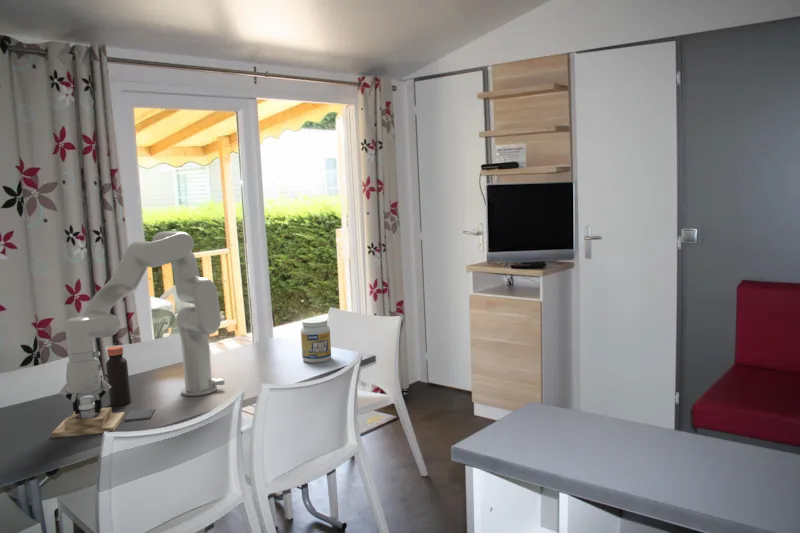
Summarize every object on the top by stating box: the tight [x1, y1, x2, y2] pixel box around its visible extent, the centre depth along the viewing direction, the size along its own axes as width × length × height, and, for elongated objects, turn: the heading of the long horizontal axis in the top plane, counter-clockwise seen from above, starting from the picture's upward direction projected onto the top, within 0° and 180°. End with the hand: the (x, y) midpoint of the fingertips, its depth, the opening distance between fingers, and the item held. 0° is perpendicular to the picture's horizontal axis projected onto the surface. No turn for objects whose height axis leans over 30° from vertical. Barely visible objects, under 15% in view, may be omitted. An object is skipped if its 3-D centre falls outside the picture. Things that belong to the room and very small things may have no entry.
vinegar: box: [105, 345, 132, 407], centre depth 232 cm, size 7×7×20 cm
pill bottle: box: [78, 394, 98, 419], centre depth 210 cm, size 5×5×10 cm
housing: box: [51, 406, 126, 439], centre depth 211 cm, size 18×14×4 cm
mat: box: [123, 408, 156, 422], centre depth 219 cm, size 8×8×1 cm
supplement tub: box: [300, 317, 332, 364], centre depth 278 cm, size 12×12×17 cm
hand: (88, 411), depth 210 cm, fingers closed on pill bottle, 5 cm apart
